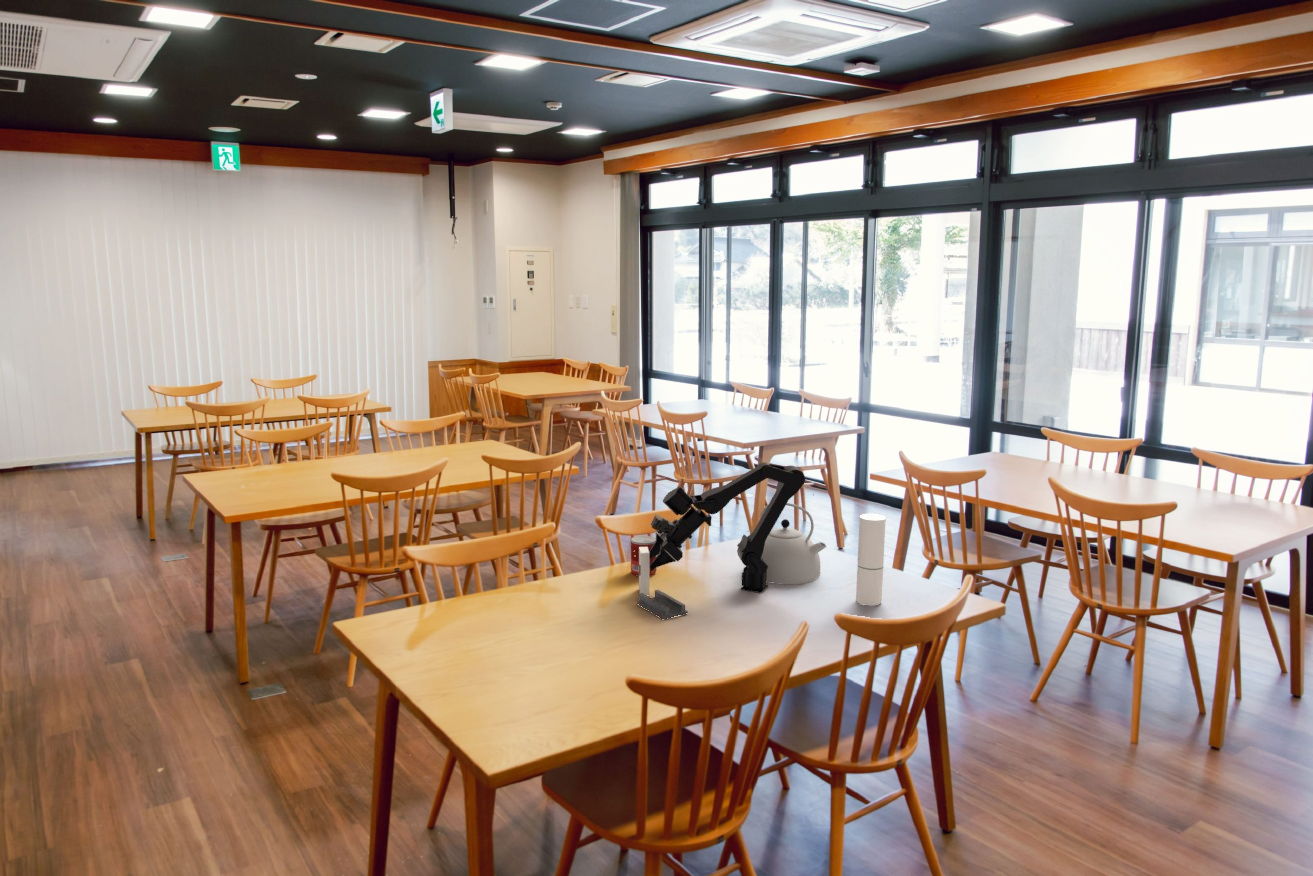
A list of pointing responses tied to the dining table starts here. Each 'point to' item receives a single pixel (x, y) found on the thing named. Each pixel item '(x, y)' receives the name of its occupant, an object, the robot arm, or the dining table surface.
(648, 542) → the canned food
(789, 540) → the kettle
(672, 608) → the bottom track
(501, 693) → the dining table surface
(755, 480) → the robot arm
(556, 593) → the dining table surface
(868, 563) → the cylindrical container
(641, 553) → the door panel
